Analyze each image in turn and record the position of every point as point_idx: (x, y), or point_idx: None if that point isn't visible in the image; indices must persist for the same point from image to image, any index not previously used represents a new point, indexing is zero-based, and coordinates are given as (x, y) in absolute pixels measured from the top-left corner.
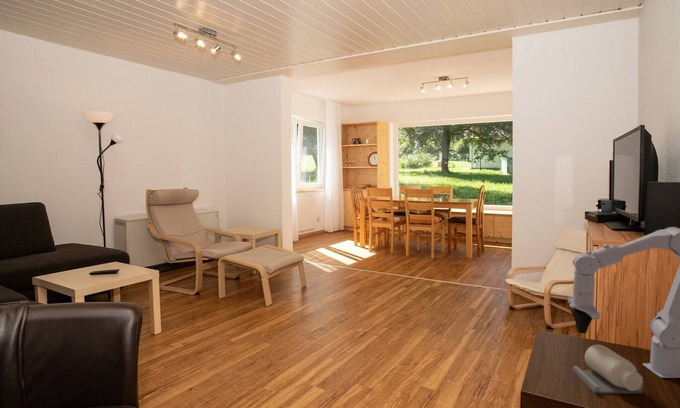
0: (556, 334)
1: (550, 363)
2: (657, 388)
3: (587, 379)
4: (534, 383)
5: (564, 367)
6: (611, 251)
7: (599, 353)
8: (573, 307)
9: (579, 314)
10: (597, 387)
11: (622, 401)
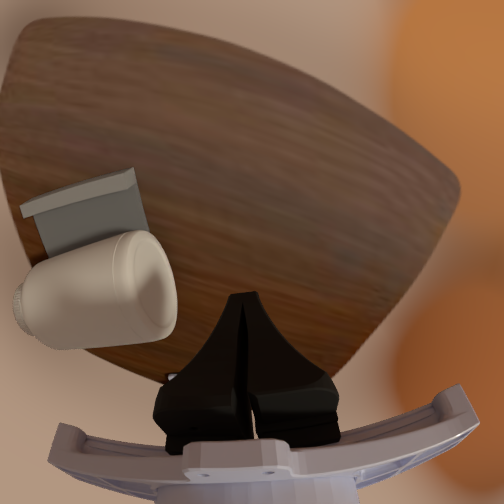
0: (443, 225)
1: (197, 97)
2: (116, 347)
3: (47, 196)
4: (53, 34)
5: (169, 145)
6: None
7: (75, 293)
8: (184, 456)
9: (156, 411)
10: (23, 212)
11: (27, 252)
